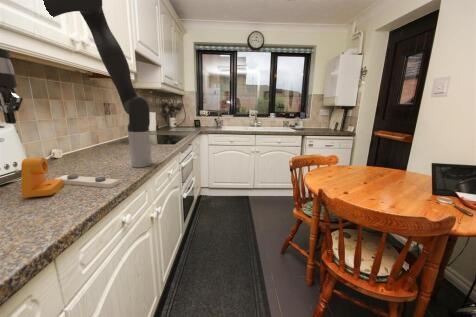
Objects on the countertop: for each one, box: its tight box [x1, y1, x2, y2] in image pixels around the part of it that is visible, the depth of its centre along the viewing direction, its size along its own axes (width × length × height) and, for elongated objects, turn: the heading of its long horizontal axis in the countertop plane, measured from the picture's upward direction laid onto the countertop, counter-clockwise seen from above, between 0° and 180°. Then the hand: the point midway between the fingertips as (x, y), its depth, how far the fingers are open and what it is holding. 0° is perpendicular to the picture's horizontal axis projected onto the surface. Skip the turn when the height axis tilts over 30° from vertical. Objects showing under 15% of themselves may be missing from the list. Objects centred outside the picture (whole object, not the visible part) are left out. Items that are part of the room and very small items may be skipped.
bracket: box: [20, 157, 64, 199], centre depth 71 cm, size 11×7×12 cm, turn 22°
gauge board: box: [52, 174, 121, 189], centre depth 81 cm, size 5×24×2 cm, turn 81°
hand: (11, 123), depth 77 cm, fingers closed
